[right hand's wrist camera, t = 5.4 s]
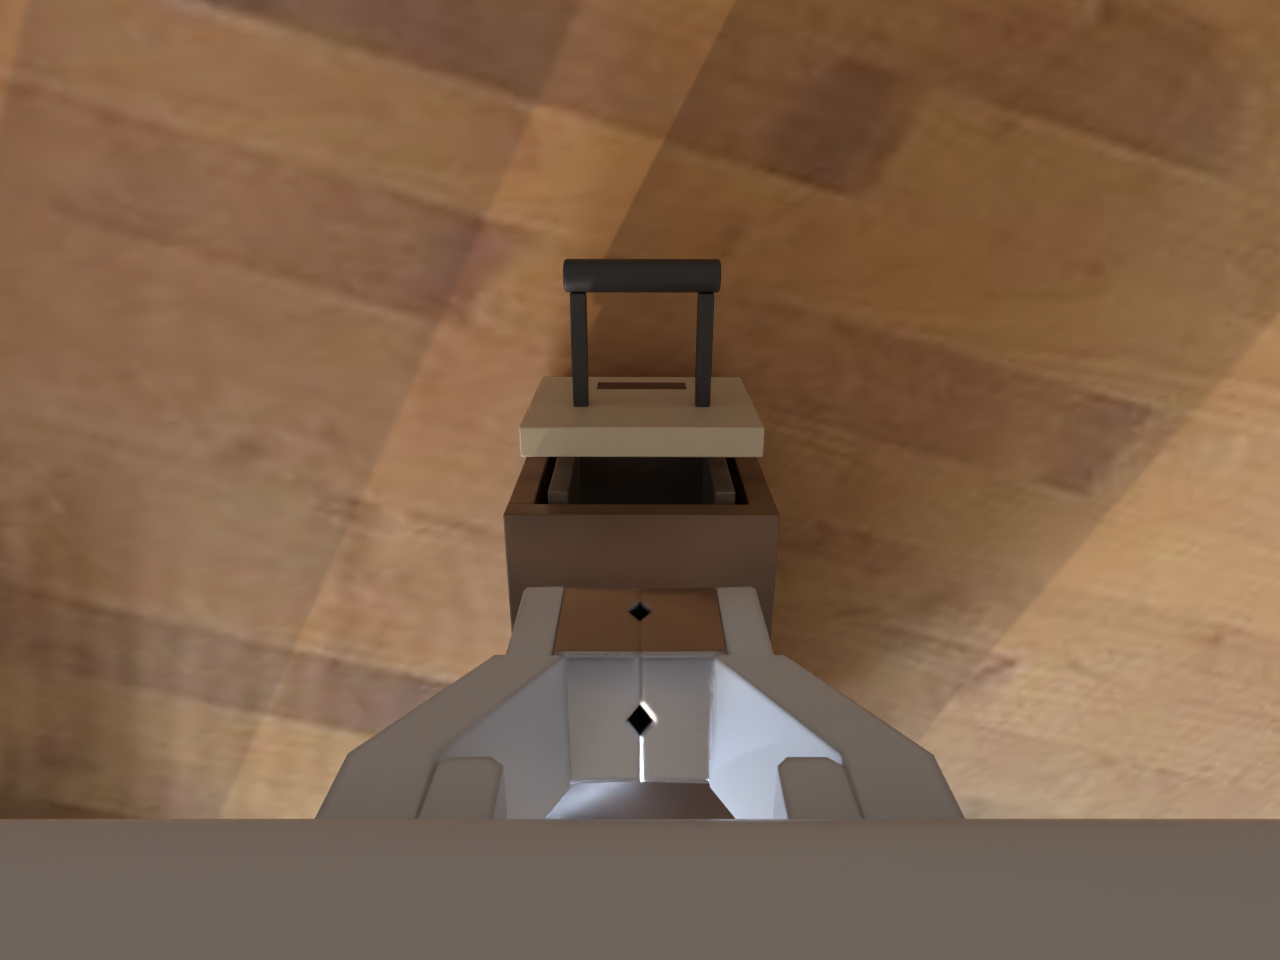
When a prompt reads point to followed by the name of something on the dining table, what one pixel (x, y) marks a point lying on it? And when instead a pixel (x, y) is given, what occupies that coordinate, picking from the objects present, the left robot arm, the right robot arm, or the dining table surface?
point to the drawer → (641, 405)
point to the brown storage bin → (641, 587)
